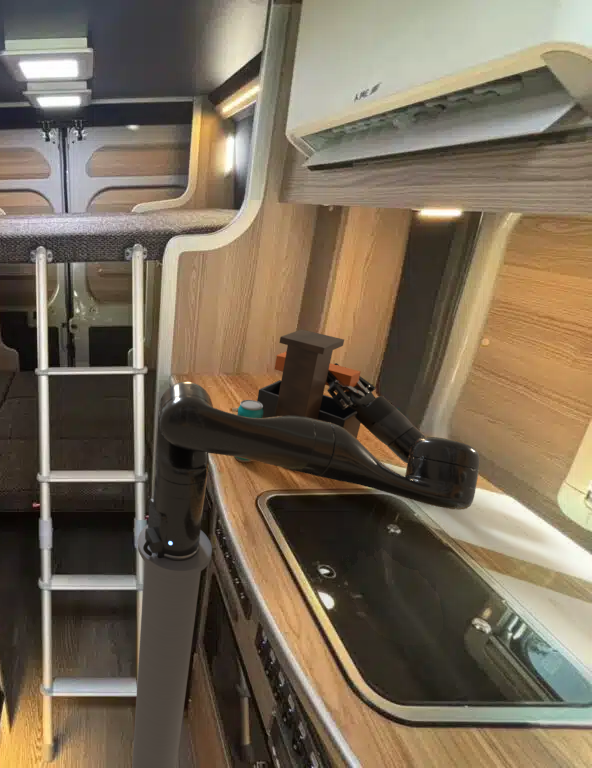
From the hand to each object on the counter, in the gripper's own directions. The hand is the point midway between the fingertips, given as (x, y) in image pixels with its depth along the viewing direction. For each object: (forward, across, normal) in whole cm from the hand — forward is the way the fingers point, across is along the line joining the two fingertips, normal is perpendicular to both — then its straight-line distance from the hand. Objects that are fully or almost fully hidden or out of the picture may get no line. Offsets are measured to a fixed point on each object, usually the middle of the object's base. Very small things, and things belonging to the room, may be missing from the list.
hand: (327, 368), depth 115 cm
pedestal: (-11, +12, +19) cm, 25 cm away
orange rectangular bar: (+1, 0, +4) cm, 4 cm away
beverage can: (-4, +19, +23) cm, 30 cm away
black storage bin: (-8, 0, +20) cm, 22 cm away
